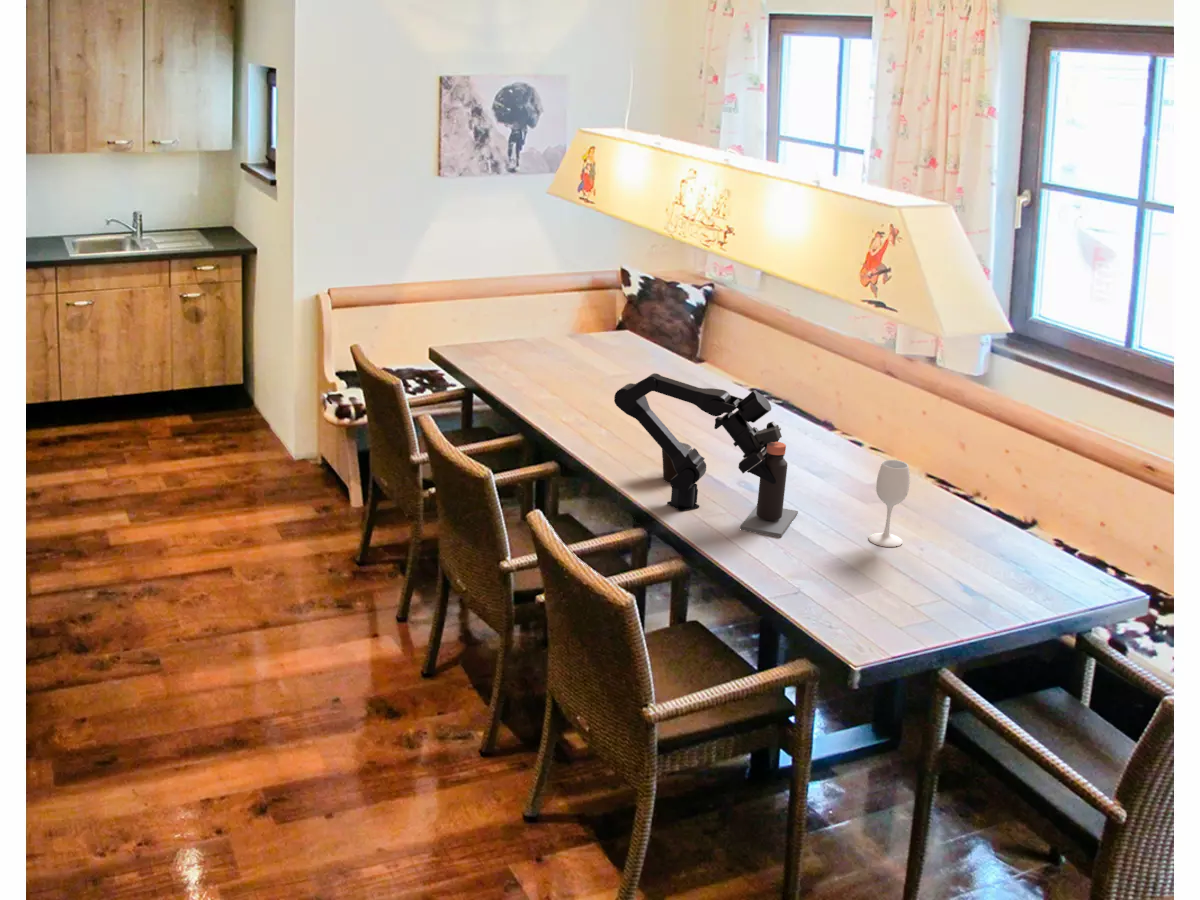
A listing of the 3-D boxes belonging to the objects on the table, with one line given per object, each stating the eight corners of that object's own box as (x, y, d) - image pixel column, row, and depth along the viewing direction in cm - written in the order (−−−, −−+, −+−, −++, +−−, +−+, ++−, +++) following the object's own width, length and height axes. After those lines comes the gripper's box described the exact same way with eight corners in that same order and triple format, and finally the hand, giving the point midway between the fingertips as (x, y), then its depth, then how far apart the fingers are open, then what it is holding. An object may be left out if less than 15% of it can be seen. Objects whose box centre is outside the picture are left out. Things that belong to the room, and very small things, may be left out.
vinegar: (753, 518, 341) (761, 446, 334) (758, 509, 347) (766, 438, 340) (779, 522, 339) (787, 450, 333) (783, 513, 345) (791, 442, 339)
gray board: (739, 529, 337) (740, 526, 337) (758, 507, 353) (758, 503, 353) (781, 537, 334) (781, 534, 333) (797, 514, 350) (797, 511, 349)
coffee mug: (678, 487, 365) (681, 453, 362) (653, 479, 370) (655, 446, 367) (701, 477, 374) (703, 444, 371) (676, 469, 379) (678, 437, 376)
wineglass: (867, 544, 332) (877, 467, 325) (869, 532, 340) (878, 456, 333) (902, 549, 330) (912, 471, 323) (903, 536, 338) (913, 460, 331)
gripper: (755, 424, 327) (793, 473, 327) (773, 405, 344) (810, 452, 344) (722, 448, 332) (759, 496, 332) (742, 428, 349) (777, 474, 349)
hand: (778, 479), depth 339 cm, fingers closed on vinegar, 6 cm apart
